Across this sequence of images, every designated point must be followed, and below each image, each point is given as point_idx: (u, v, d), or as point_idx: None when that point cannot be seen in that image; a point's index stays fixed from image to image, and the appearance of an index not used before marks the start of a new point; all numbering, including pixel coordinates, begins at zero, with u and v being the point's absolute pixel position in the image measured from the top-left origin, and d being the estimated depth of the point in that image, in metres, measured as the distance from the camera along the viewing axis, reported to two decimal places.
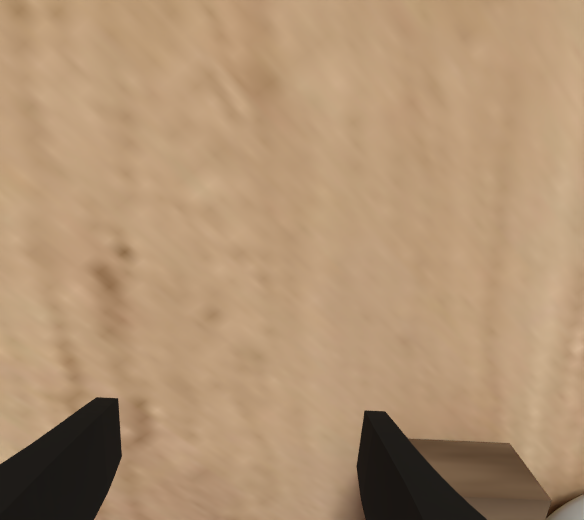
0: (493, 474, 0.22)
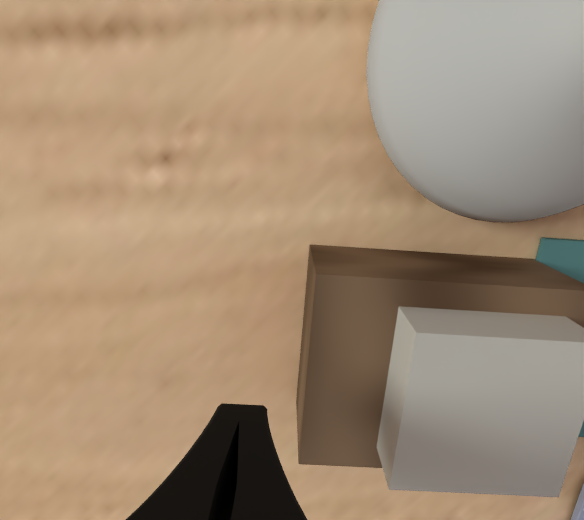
0: (308, 315, 0.16)
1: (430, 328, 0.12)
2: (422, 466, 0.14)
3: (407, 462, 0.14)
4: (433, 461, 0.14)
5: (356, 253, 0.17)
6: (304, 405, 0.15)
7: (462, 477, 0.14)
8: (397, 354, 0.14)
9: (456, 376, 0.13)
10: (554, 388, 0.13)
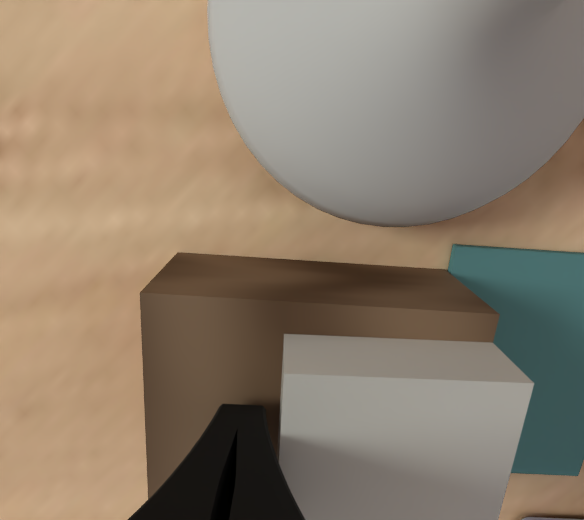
0: None
1: (306, 366, 0.10)
2: None
3: None
4: None
5: (226, 263, 0.14)
6: (148, 450, 0.12)
7: None
8: None
9: (341, 426, 0.10)
10: (469, 438, 0.10)
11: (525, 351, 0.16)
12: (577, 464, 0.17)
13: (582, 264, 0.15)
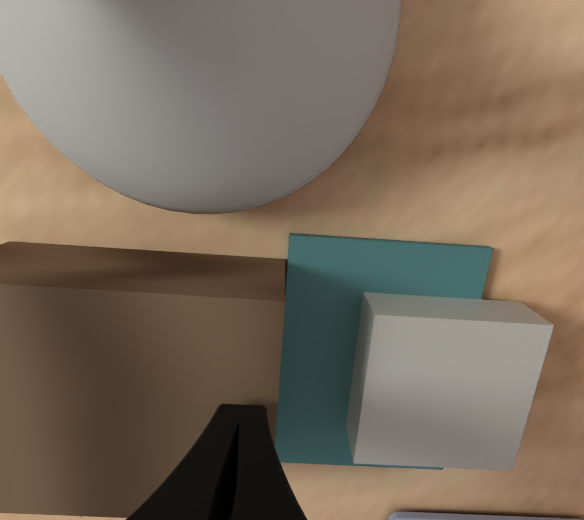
0: None
1: (510, 304, 0.15)
2: None
3: None
4: None
5: (48, 252, 0.14)
6: None
7: None
8: None
9: None
10: None
11: None
12: None
13: (421, 253, 0.15)
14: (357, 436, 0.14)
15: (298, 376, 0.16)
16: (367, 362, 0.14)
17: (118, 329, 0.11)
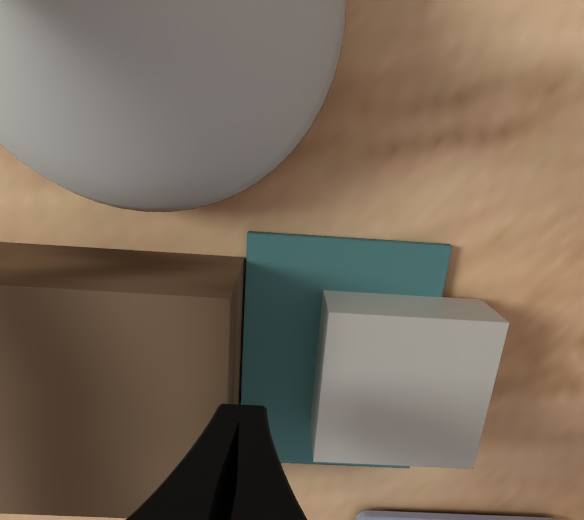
0: None
1: (470, 302, 0.15)
2: None
3: None
4: None
5: (4, 250, 0.14)
6: None
7: None
8: None
9: None
10: None
11: None
12: None
13: (380, 251, 0.15)
14: (316, 434, 0.14)
15: (261, 374, 0.16)
16: (323, 360, 0.14)
17: (63, 327, 0.11)
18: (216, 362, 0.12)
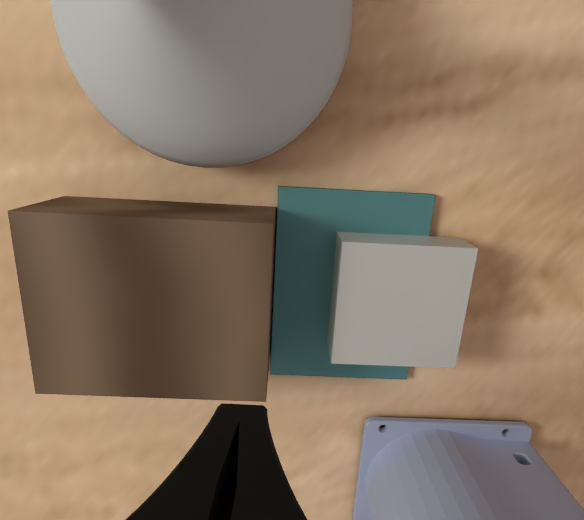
0: None
1: (450, 238, 0.19)
2: None
3: None
4: None
5: (96, 201, 0.18)
6: (29, 337, 0.17)
7: None
8: None
9: None
10: None
11: None
12: (404, 369, 0.22)
13: (380, 200, 0.19)
14: (333, 341, 0.19)
15: (288, 301, 0.20)
16: (338, 280, 0.18)
17: (153, 247, 0.16)
18: (262, 273, 0.16)
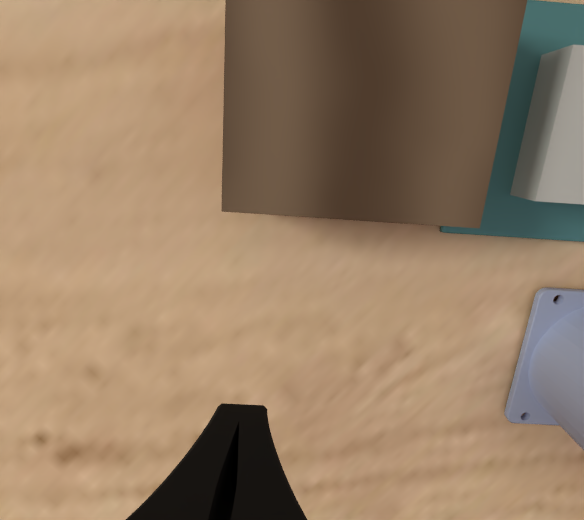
0: None
1: None
2: None
3: None
4: None
5: None
6: (224, 138, 0.15)
7: None
8: None
9: None
10: None
11: None
12: None
13: None
14: (541, 172, 0.17)
15: None
16: (559, 95, 0.16)
17: (387, 19, 0.13)
18: (505, 58, 0.14)
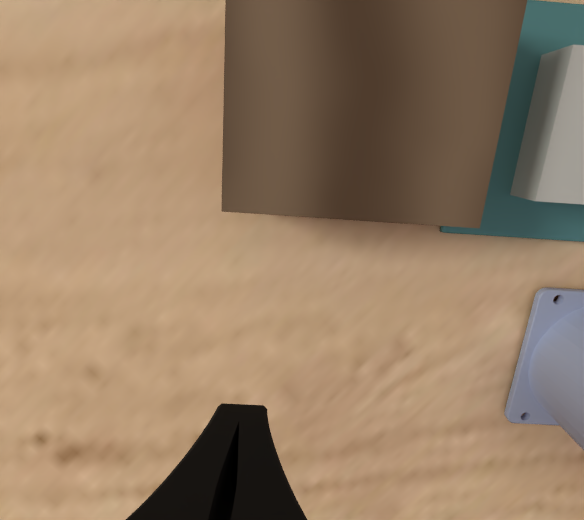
0: None
1: None
2: None
3: None
4: None
5: None
6: (224, 138, 0.15)
7: None
8: None
9: None
10: None
11: None
12: None
13: None
14: (541, 172, 0.17)
15: None
16: (559, 95, 0.16)
17: (387, 19, 0.13)
18: (505, 58, 0.14)
